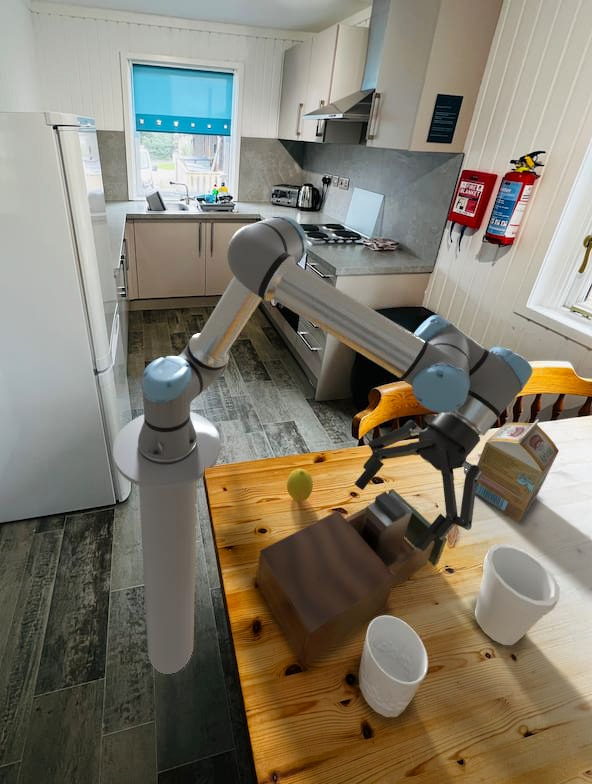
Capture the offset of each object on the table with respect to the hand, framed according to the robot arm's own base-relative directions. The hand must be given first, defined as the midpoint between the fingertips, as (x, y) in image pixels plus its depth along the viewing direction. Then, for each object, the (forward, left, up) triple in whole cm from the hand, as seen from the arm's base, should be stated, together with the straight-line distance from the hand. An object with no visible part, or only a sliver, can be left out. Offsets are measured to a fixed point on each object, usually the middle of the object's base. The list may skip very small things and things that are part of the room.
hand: (386, 515), depth 70 cm
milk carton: (+2, +40, -13) cm, 42 cm away
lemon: (-18, -4, -13) cm, 23 cm away
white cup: (+14, -13, -13) cm, 23 cm away
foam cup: (+17, +11, -13) cm, 24 cm away
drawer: (0, +3, -12) cm, 12 cm away
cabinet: (0, -13, -13) cm, 18 cm away
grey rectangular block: (0, 0, -11) cm, 11 cm away
